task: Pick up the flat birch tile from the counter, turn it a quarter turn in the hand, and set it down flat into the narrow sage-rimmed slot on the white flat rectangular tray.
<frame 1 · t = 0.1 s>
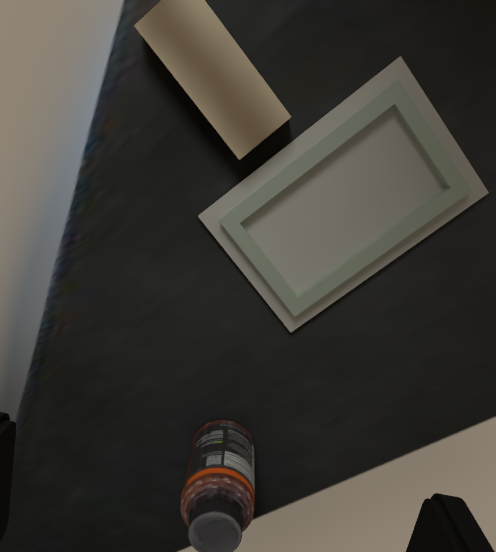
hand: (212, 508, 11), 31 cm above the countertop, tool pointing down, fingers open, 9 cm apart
supplement bottle: (223, 443, 46), on the countertop
birch tile: (217, 78, 38), on the countertop
white flat rectangular tray: (340, 203, 40), on the countertop
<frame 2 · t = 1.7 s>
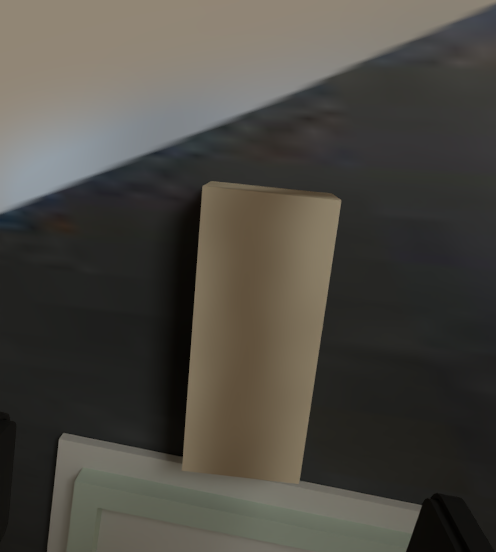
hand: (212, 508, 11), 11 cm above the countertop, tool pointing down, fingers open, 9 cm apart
birch tile: (256, 320, 22), on the countertop
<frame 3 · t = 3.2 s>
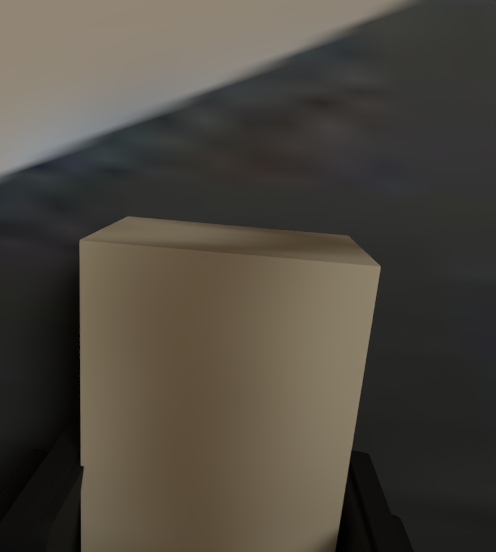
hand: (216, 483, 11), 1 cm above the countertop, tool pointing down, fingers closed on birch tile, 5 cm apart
birch tile: (219, 456, 12), on the countertop, touching gripper
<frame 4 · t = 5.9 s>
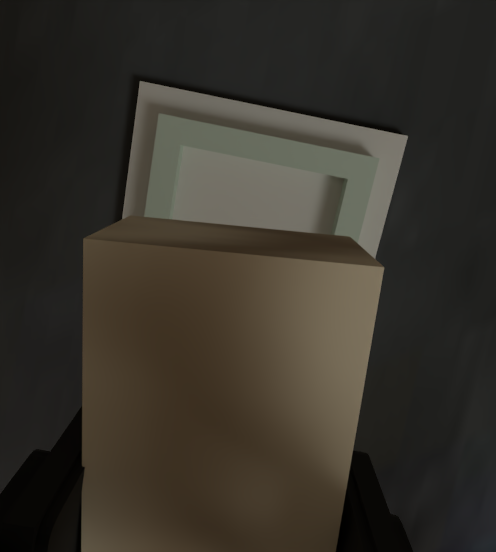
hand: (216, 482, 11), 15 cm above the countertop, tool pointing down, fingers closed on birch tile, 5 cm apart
birch tile: (219, 456, 12), point 14 cm above the countertop, touching gripper
white flat rectangular tray: (236, 302, 26), on the countertop
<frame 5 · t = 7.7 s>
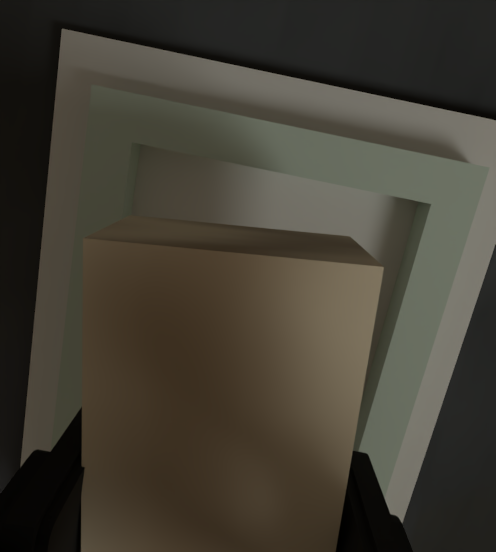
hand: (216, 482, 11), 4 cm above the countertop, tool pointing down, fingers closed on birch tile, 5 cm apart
birch tile: (219, 455, 12), point 3 cm above the countertop, touching gripper
white flat rectangular tray: (231, 399, 16), on the countertop
when the fingers open (2 cm above the countertop, at t = 9.0 s): birch tile drops 1 cm, resting on white flat rectangular tray.
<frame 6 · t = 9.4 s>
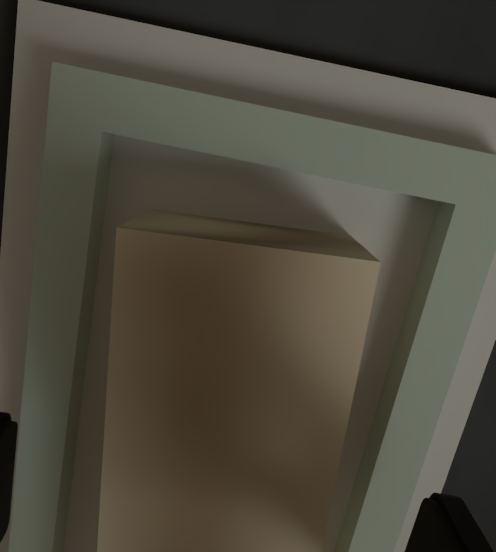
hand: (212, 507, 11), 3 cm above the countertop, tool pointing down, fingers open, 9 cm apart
birch tile: (223, 434, 13), resting on white flat rectangular tray
white flat rectangular tray: (223, 426, 14), on the countertop
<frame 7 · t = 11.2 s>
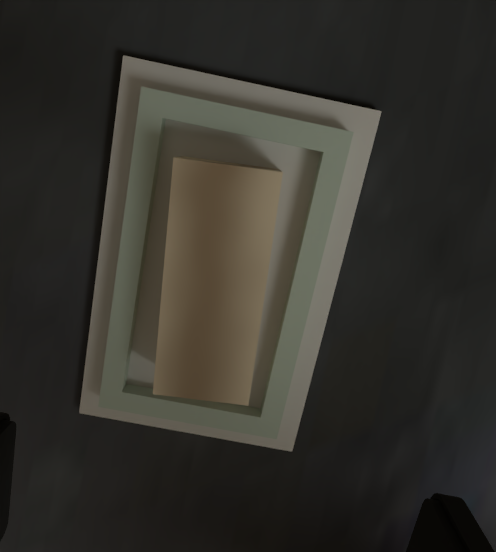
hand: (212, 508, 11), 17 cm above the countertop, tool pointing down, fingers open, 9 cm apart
birch tile: (217, 274, 26), resting on white flat rectangular tray
white flat rectangular tray: (217, 273, 27), on the countertop
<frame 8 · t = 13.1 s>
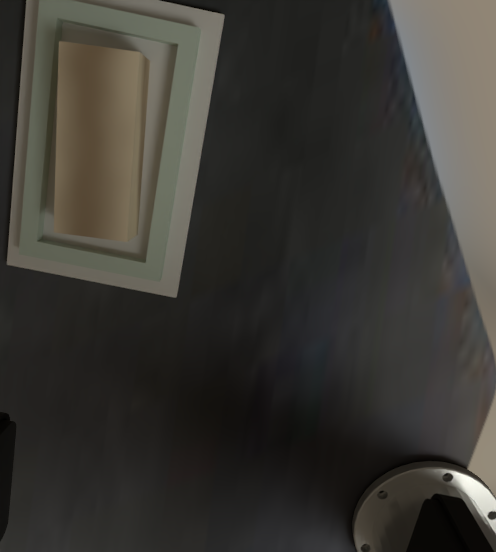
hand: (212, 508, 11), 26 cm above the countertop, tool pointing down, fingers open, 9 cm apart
birch tile: (108, 147, 34), resting on white flat rectangular tray
white flat rectangular tray: (110, 148, 34), on the countertop
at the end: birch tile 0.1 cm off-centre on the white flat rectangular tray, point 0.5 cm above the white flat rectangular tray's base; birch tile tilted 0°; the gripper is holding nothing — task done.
